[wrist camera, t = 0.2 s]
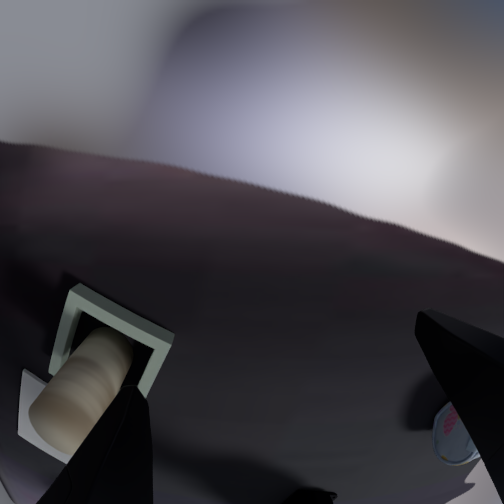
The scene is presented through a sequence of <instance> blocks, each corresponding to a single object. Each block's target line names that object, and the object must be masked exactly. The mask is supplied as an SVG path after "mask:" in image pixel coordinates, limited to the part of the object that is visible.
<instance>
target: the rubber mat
mask: <svg viewBox="0 0 504 504" xmlns="http://www.w3.org/2000/svg"><path fill="white" fill-rule="evenodd" d="M46 385H47V383H46V382H44V381H43V380H41V379H40V378H38V377H37V376H35V375H34V374H32V373H31V372H29V371H28V370H26V369H24V370H23V372H22V381H21V391H20V402H19V419H18V435H20V436H21V437H23V438H24V439H26V440H27V441H29V442H30V443H32V444H33V445H35V446H37V447H38V448H40V449H41V450H43V451H45V452H46V453H48V454H50V455H51V456H53V457H55V458H57V459H59V460H60V461H62V462H64V463H66V464H67V463H68V462H69V460H70V459H71V457H72V455H68V454H65V453H62V452H60V451H58V450H56V449H55V448H53V447H52V446H50V445H49V444H47V443H46V442H45V441H44V440H43V439H42V438H41V437H40V436H39V435H38V434H37V432H36V431H35V430H34V428H33V426H32V425H31V422H30V419H29V415H28V411H29V407H30V406H31V404H32V403H33V402H34V400H35V399H36V398H37V397H38V395H39V394H40V393H41V392H42V390H43V389H44V388H45V387H46Z"/></svg>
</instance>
